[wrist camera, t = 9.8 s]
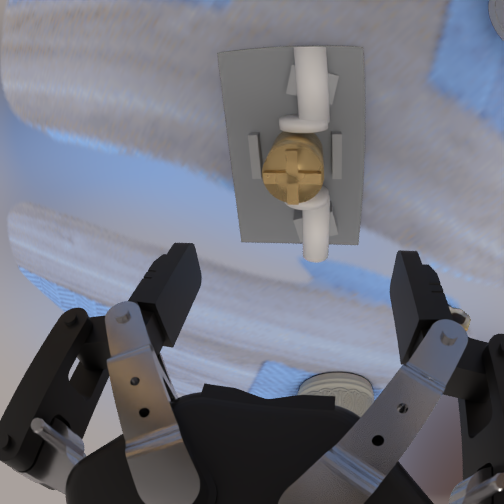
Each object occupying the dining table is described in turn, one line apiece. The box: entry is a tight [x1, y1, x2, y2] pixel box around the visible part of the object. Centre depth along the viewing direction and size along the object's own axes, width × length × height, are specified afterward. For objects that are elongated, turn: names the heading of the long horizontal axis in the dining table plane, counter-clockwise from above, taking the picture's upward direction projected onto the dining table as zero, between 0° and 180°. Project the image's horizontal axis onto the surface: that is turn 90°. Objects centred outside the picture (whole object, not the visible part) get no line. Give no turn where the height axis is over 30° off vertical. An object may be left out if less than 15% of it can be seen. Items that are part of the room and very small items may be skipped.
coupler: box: [262, 131, 324, 205], centre depth 24 cm, size 4×4×7 cm
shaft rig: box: [217, 46, 365, 262], centre depth 26 cm, size 19×12×5 cm, turn 5°
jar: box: [297, 373, 374, 417], centre depth 41 cm, size 13×13×18 cm
